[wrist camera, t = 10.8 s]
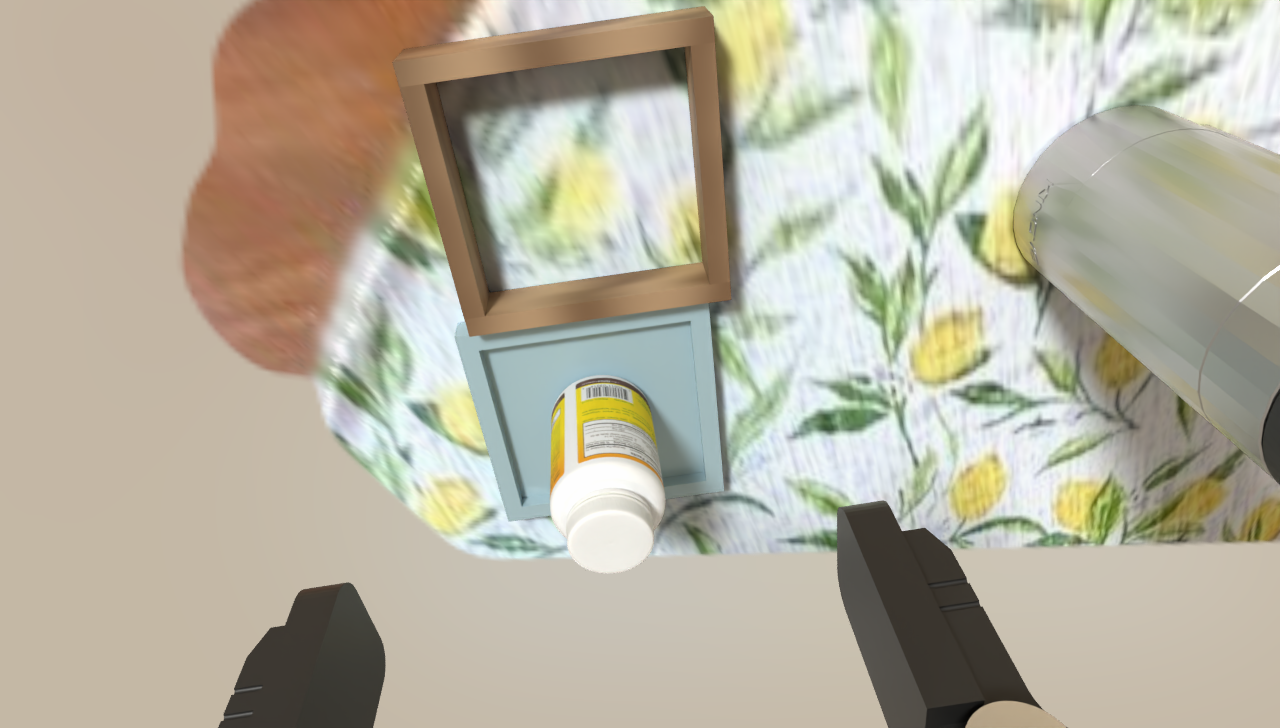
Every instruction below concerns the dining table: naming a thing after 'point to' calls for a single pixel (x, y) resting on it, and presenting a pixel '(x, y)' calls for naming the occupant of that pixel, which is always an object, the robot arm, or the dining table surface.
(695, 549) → the dining table surface
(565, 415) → the supplement bottle
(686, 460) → the tray
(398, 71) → the frame
